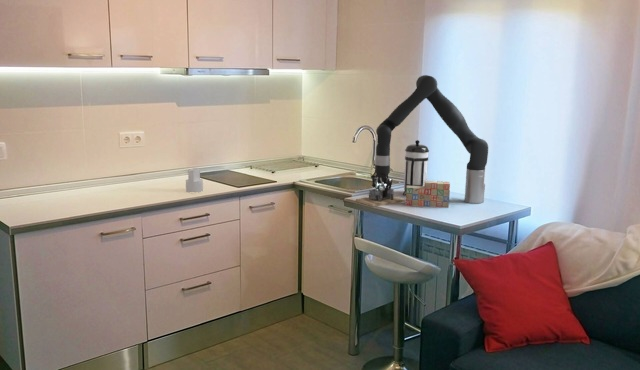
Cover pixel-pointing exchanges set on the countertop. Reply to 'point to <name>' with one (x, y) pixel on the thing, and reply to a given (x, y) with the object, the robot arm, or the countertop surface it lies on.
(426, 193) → the stack of blocks
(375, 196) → the grey rectangular block
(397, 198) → the pin tray
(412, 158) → the coffee press
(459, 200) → the countertop surface
